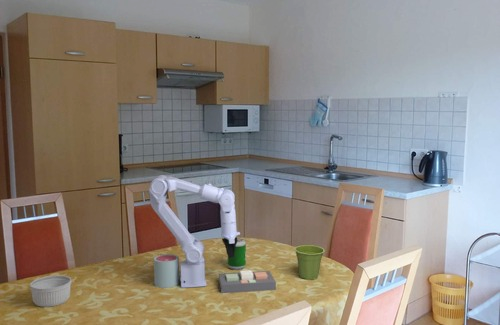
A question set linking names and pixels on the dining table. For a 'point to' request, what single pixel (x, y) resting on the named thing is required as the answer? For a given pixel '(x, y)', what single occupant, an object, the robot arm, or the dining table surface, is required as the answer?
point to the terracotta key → (260, 275)
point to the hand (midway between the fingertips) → (230, 257)
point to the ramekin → (50, 290)
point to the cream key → (246, 275)
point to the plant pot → (309, 260)
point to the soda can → (238, 256)
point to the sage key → (232, 277)
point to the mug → (166, 271)
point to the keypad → (246, 283)
